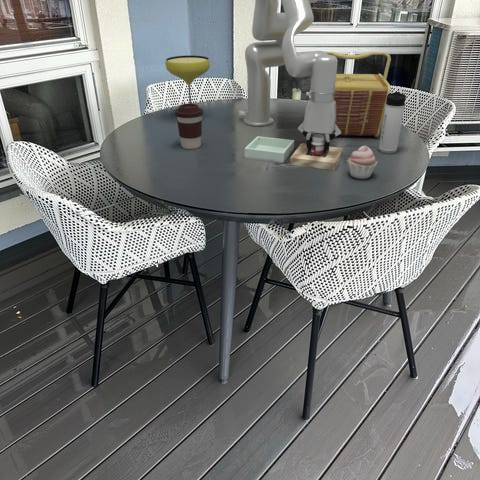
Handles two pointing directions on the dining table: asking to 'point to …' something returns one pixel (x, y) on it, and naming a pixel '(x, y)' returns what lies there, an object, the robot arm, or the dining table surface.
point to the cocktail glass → (188, 68)
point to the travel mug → (392, 122)
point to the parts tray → (269, 149)
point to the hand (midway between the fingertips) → (317, 150)
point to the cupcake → (362, 163)
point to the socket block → (316, 158)
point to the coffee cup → (189, 125)
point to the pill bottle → (317, 145)
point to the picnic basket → (360, 99)
